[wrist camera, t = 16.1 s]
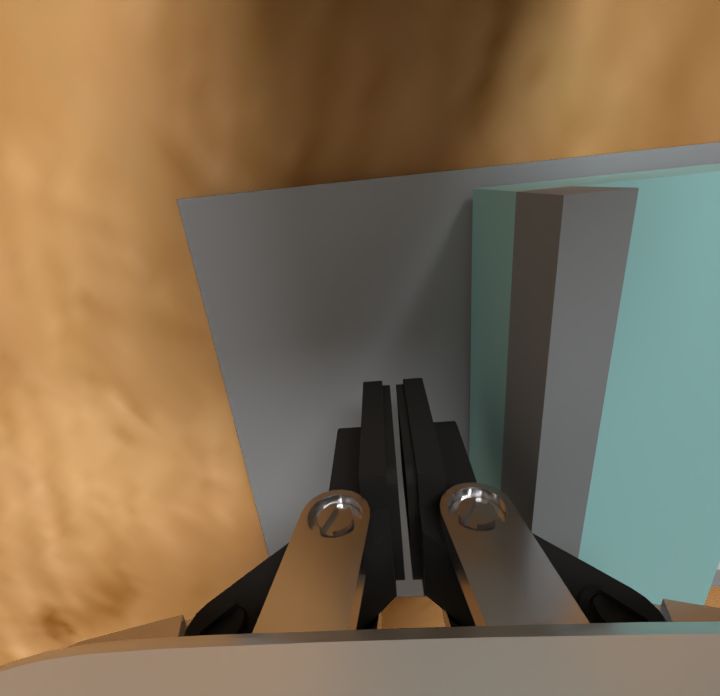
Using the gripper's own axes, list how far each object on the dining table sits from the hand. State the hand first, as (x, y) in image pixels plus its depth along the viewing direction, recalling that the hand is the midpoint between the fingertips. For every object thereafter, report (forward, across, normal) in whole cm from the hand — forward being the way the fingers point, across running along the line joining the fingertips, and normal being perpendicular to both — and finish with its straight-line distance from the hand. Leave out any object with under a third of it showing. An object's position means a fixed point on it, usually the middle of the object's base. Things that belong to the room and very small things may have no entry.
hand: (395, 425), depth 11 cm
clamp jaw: (+2, -6, 0) cm, 6 cm away
